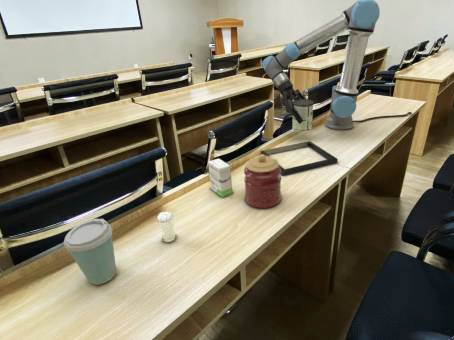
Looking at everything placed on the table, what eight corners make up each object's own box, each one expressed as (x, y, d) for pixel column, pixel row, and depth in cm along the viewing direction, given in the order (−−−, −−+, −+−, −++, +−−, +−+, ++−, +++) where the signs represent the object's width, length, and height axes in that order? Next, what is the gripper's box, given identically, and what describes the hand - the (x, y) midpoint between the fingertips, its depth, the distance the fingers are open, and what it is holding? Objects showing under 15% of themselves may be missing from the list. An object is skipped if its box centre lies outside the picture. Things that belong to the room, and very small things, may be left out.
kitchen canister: (237, 199, 112) (234, 155, 104) (263, 186, 120) (262, 144, 112) (263, 213, 104) (262, 167, 95) (288, 198, 112) (289, 154, 103)
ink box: (233, 193, 116) (231, 165, 110) (221, 197, 113) (219, 169, 107) (221, 184, 122) (218, 157, 116) (210, 188, 119) (207, 161, 113)
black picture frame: (309, 144, 155) (309, 141, 154) (337, 162, 136) (337, 158, 136) (260, 154, 146) (260, 150, 145) (282, 175, 127) (282, 171, 126)
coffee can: (292, 125, 165) (292, 98, 158) (311, 125, 164) (313, 99, 157) (291, 131, 156) (292, 104, 149) (312, 132, 155) (314, 104, 148)
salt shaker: (156, 240, 93) (150, 212, 88) (172, 232, 96) (167, 205, 91) (163, 247, 90) (157, 219, 85) (180, 238, 93) (175, 211, 88)
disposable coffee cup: (83, 298, 74) (63, 251, 67) (76, 271, 82) (58, 226, 75) (129, 278, 80) (114, 232, 73) (118, 254, 87) (105, 211, 81)
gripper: (291, 84, 168) (314, 118, 166) (265, 92, 153) (289, 129, 151) (300, 76, 162) (324, 110, 160) (273, 83, 147) (299, 121, 145)
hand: (307, 119), depth 155 cm, fingers closed on coffee can, 10 cm apart
